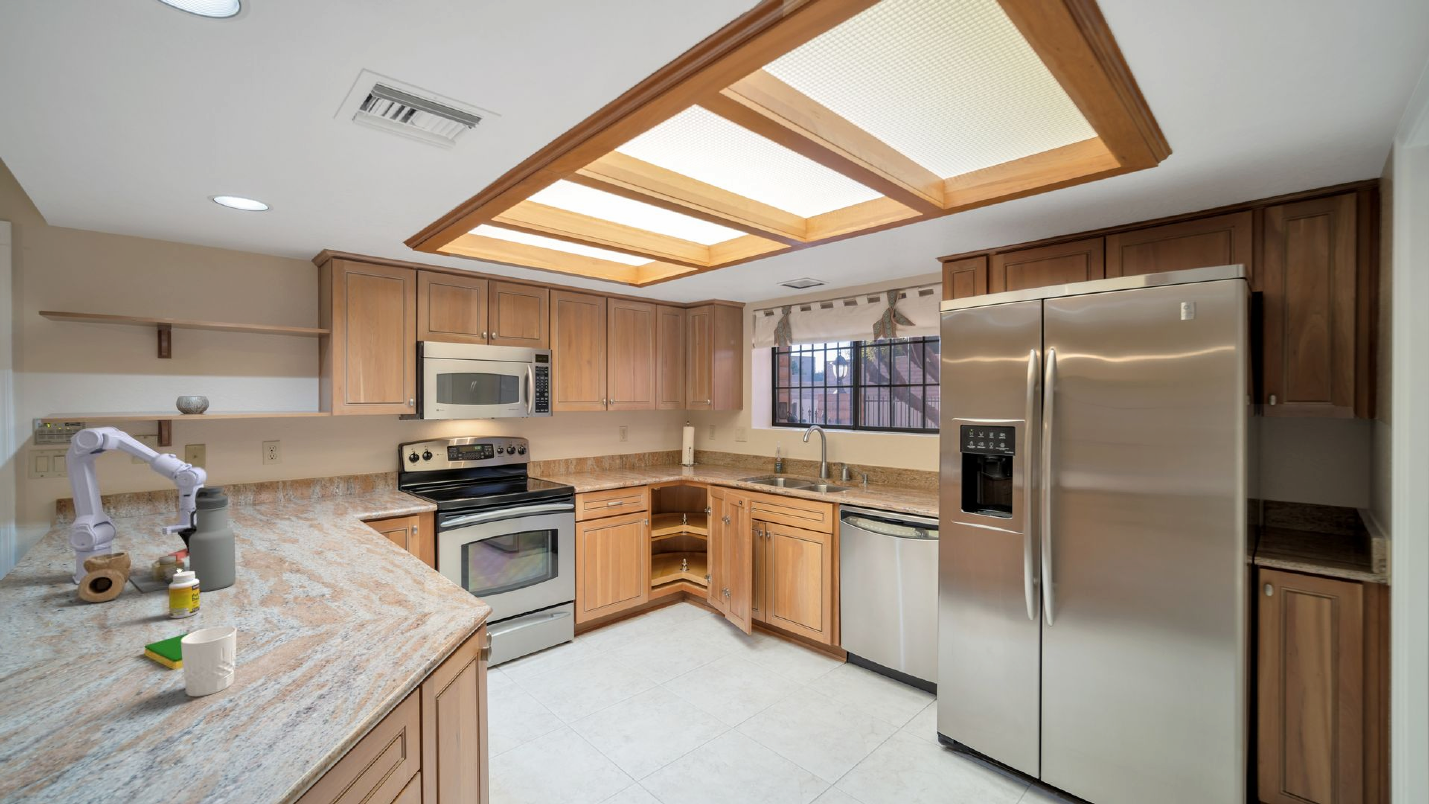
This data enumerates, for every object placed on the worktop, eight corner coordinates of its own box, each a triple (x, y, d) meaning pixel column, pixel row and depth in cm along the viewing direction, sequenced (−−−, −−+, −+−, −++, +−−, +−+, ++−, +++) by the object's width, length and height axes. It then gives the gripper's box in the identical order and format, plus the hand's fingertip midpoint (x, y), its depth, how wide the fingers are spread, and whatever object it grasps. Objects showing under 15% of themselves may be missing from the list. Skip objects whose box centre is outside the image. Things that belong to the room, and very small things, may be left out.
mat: (128, 578, 172) (128, 577, 172) (204, 564, 186) (204, 563, 186) (143, 593, 160) (143, 591, 160) (222, 577, 174) (222, 575, 174)
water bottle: (182, 588, 164) (180, 488, 163) (224, 578, 172) (222, 483, 172) (200, 594, 159) (197, 491, 158) (242, 584, 167) (240, 485, 167)
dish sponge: (187, 644, 130) (187, 633, 130) (217, 657, 123) (217, 645, 123) (144, 656, 123) (144, 645, 123) (174, 671, 117) (174, 659, 117)
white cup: (204, 678, 113) (203, 626, 113) (247, 676, 114) (246, 625, 114) (170, 699, 106) (168, 644, 105) (217, 697, 106) (216, 642, 106)
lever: (170, 564, 171) (170, 557, 171) (156, 564, 170) (155, 558, 170) (198, 552, 182) (198, 547, 182) (185, 553, 182) (185, 547, 182)
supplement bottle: (195, 616, 144) (194, 575, 143) (165, 620, 141) (164, 578, 141) (203, 609, 149) (202, 568, 148) (174, 612, 146) (173, 571, 146)
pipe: (75, 607, 150) (74, 568, 149) (87, 590, 162) (86, 554, 162) (126, 599, 155) (125, 561, 155) (133, 583, 168) (132, 548, 168)
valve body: (148, 576, 174) (148, 560, 174) (175, 571, 179) (175, 556, 179) (161, 587, 164) (161, 571, 164) (189, 582, 169) (189, 566, 169)
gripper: (173, 513, 171) (174, 560, 171) (227, 503, 185) (229, 547, 185) (156, 512, 173) (158, 558, 173) (211, 502, 187) (213, 545, 187)
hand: (193, 552), depth 179 cm, fingers closed
